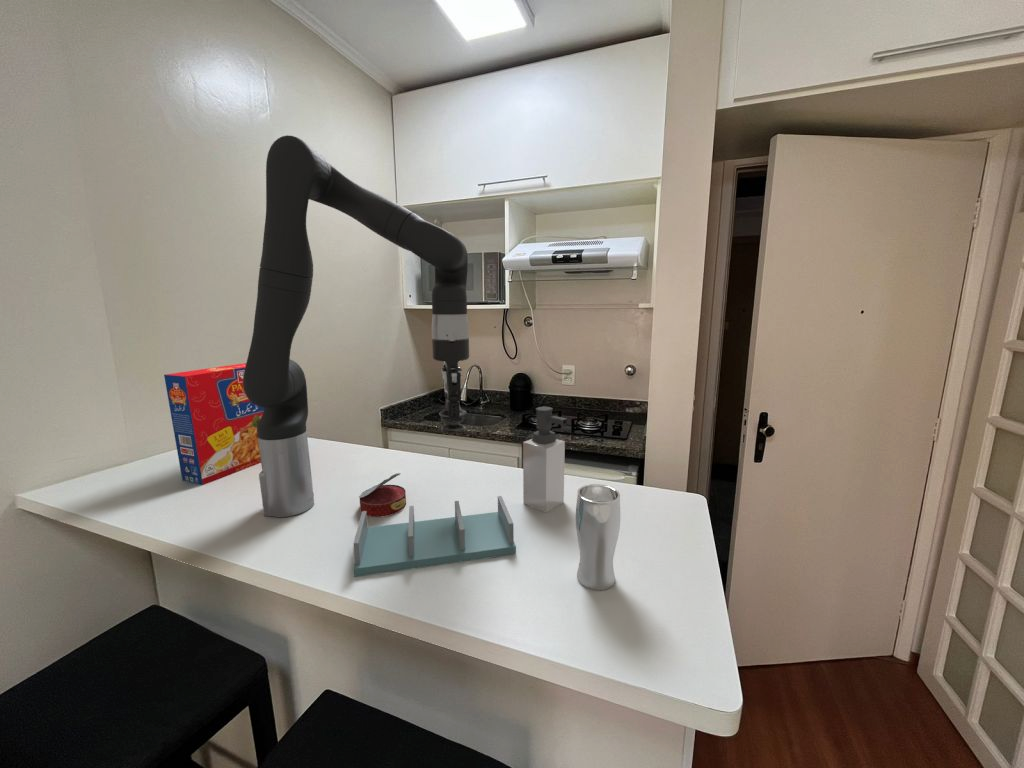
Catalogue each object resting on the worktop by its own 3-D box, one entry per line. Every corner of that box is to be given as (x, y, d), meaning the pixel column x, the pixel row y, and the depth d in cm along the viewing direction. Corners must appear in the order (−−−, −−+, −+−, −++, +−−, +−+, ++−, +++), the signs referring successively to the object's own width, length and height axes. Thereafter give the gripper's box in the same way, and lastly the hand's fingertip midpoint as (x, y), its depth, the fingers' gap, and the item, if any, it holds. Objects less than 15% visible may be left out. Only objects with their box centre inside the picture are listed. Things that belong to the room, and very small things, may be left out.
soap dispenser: (554, 516, 87) (555, 416, 83) (523, 503, 93) (523, 408, 89) (572, 505, 91) (574, 409, 87) (541, 493, 97) (541, 403, 93)
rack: (353, 576, 68) (351, 546, 67) (363, 534, 80) (361, 508, 79) (515, 553, 74) (515, 525, 73) (501, 517, 86) (501, 493, 85)
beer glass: (570, 566, 70) (571, 484, 67) (609, 563, 71) (613, 482, 68) (580, 594, 64) (582, 504, 61) (623, 591, 64) (628, 502, 61)
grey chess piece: (469, 425, 91) (468, 371, 89) (463, 433, 85) (462, 376, 83) (443, 424, 91) (441, 371, 89) (436, 432, 86) (434, 376, 83)
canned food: (375, 537, 88) (350, 507, 83) (368, 512, 96) (344, 483, 92) (421, 505, 91) (399, 474, 86) (410, 484, 99) (389, 454, 95)
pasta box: (202, 485, 104) (185, 376, 98) (182, 480, 106) (164, 374, 101) (296, 449, 129) (286, 361, 124) (277, 446, 132) (267, 360, 127)
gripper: (430, 334, 91) (433, 408, 94) (433, 339, 77) (436, 426, 80) (464, 333, 92) (466, 406, 95) (473, 339, 78) (474, 424, 82)
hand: (452, 415), depth 88 cm, fingers closed on grey chess piece, 6 cm apart
